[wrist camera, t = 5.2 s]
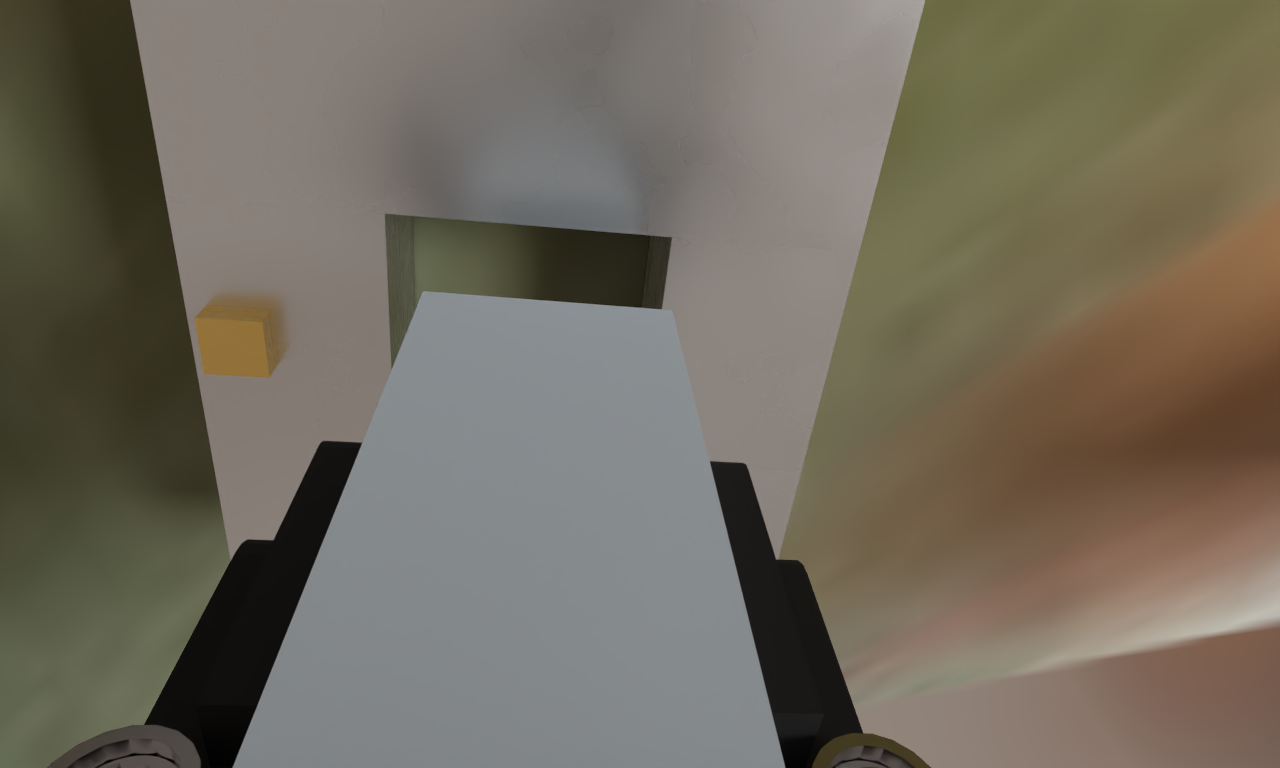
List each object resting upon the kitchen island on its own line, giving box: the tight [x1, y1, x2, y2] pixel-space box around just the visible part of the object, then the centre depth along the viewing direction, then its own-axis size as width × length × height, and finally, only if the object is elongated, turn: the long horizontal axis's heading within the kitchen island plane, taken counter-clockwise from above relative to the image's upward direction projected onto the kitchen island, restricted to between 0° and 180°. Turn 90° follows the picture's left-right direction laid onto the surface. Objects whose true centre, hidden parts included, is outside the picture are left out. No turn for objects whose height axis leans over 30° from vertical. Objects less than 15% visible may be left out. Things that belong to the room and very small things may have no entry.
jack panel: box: [130, 0, 925, 560], centre depth 14 cm, size 24×13×4 cm, turn 173°
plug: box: [233, 291, 785, 768], centre depth 9 cm, size 5×4×12 cm
